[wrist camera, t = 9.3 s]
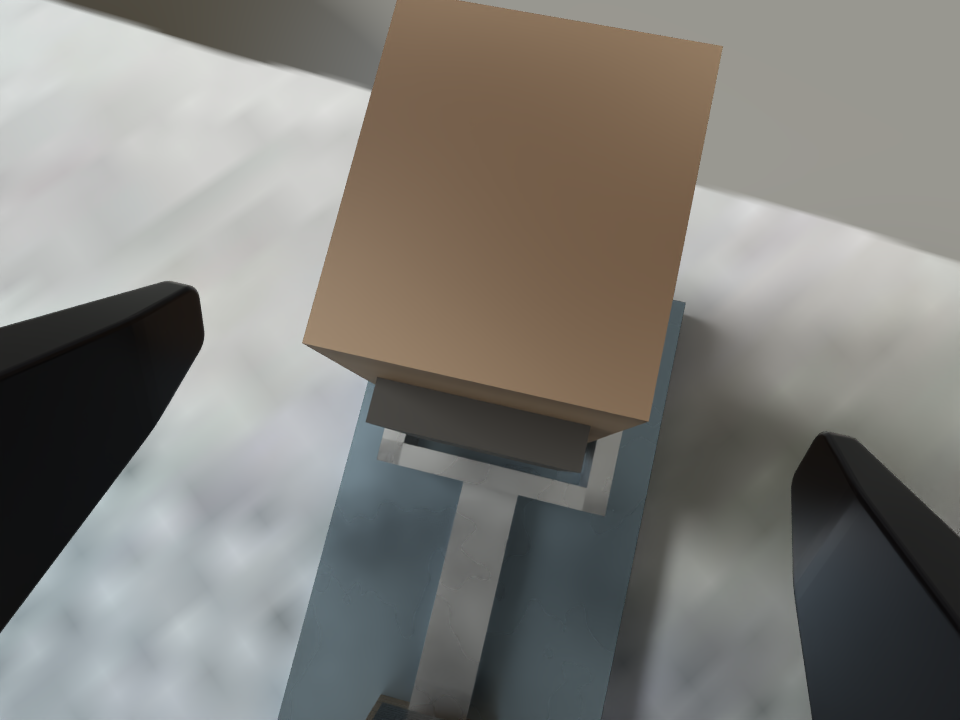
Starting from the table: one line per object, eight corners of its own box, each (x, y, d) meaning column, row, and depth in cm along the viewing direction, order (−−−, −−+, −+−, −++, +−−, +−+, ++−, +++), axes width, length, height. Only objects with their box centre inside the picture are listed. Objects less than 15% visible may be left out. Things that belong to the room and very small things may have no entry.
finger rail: (557, 893, 19) (579, 1138, 12) (264, 804, 20) (128, 986, 13) (676, 311, 22) (751, 237, 15) (411, 253, 23) (362, 156, 16)
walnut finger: (556, 472, 20) (636, 483, 6) (443, 445, 20) (286, 401, 7) (587, 325, 21) (722, 47, 7) (477, 302, 21) (399, -10, 7)
